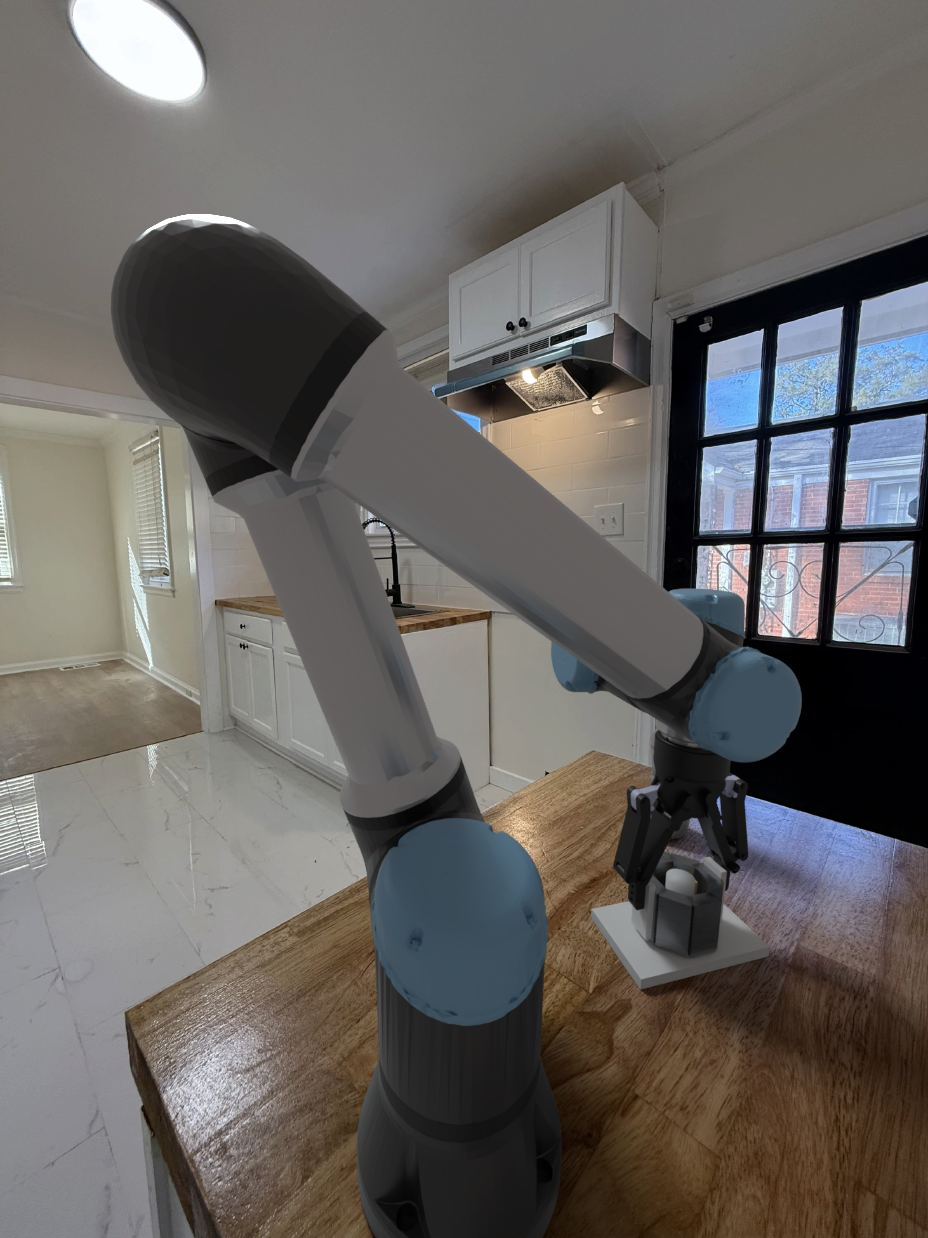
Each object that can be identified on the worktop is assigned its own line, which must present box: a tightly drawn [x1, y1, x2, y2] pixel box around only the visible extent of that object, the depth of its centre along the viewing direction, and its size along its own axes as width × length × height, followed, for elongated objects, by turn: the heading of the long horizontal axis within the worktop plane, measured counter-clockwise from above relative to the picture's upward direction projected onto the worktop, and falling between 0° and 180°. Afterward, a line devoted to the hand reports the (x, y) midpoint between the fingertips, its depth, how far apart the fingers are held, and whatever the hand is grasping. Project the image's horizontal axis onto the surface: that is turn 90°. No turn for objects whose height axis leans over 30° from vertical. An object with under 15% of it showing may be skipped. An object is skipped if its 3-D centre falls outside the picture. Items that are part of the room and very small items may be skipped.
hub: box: [650, 851, 724, 958], centre depth 57 cm, size 8×8×6 cm
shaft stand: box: [590, 869, 770, 990], centre depth 57 cm, size 16×10×8 cm, turn 105°
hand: (676, 922), depth 58 cm, fingers closed on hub, 8 cm apart
